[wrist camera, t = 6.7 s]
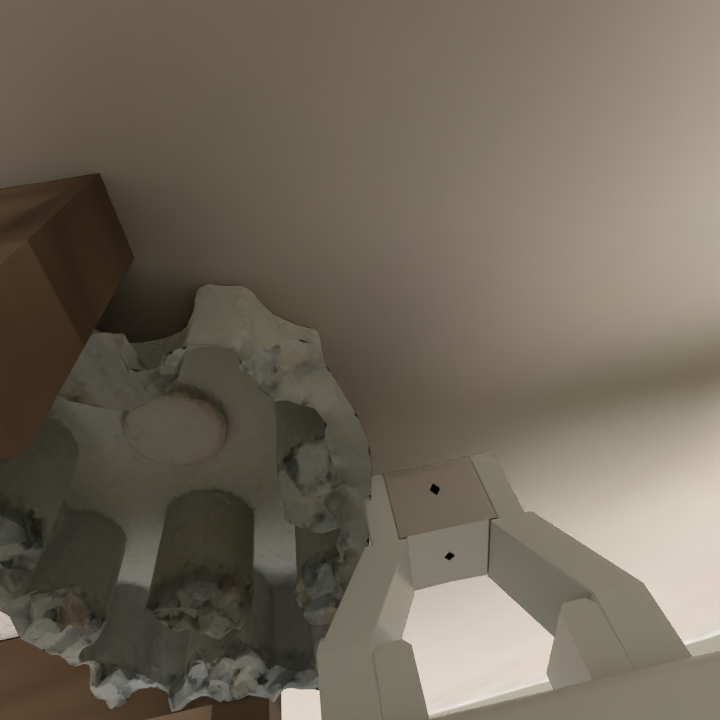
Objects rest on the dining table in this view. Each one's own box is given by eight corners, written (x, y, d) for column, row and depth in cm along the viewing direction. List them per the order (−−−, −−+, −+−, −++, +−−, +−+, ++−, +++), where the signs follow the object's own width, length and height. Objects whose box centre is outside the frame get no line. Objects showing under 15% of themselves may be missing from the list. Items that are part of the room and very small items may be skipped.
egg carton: (-66, 285, 9) (-269, 443, 6) (349, 266, 10) (391, 390, 7) (100, 609, 15) (50, 780, 11) (348, 577, 16) (369, 725, 12)
